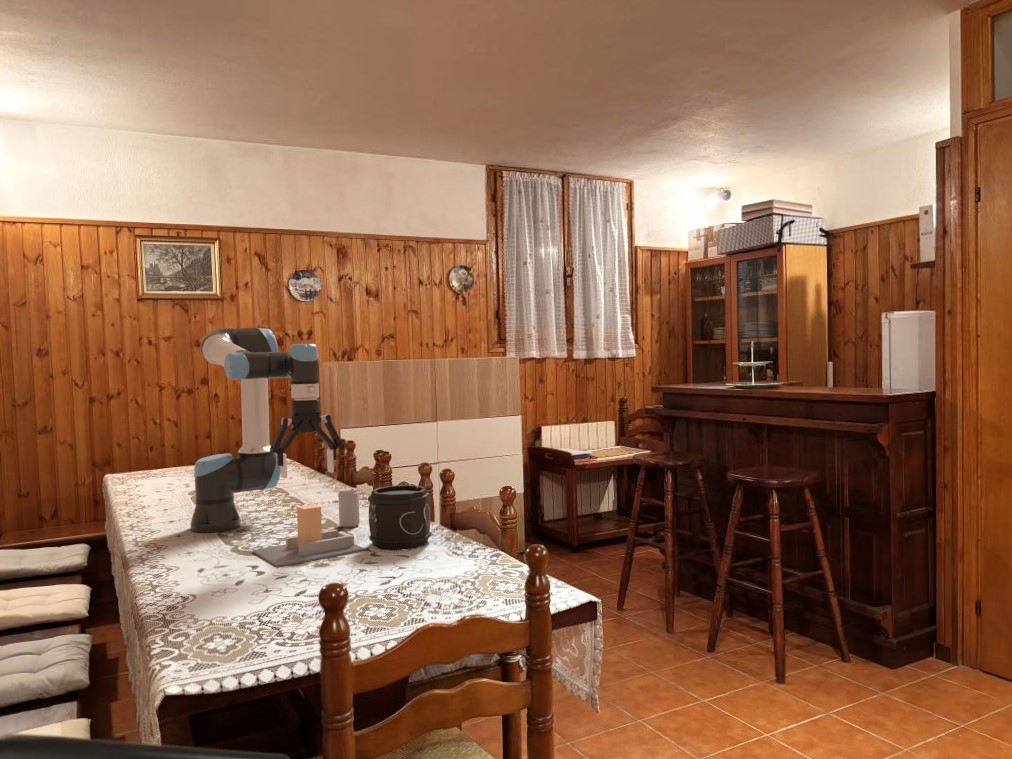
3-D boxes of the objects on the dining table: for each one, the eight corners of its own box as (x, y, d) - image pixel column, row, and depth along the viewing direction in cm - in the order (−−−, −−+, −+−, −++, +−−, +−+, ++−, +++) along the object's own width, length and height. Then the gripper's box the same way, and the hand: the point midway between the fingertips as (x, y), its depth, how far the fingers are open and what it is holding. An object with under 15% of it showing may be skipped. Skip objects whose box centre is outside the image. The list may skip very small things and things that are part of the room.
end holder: (252, 552, 213) (252, 539, 213) (335, 537, 228) (335, 525, 227) (277, 567, 197) (276, 553, 196) (365, 550, 211) (364, 537, 211)
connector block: (298, 548, 213) (296, 506, 212) (315, 545, 216) (313, 504, 215) (305, 552, 209) (303, 509, 208) (322, 549, 212) (320, 506, 211)
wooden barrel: (443, 538, 224) (442, 485, 223) (411, 553, 207) (409, 496, 207) (392, 533, 231) (391, 482, 231) (357, 547, 215) (355, 493, 214)
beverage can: (355, 528, 239) (353, 490, 239) (336, 528, 241) (334, 490, 240) (362, 524, 246) (361, 487, 245) (344, 523, 247) (343, 487, 246)
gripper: (265, 402, 201) (268, 481, 201) (352, 397, 215) (354, 471, 216) (256, 401, 207) (258, 478, 207) (341, 396, 221) (343, 468, 222)
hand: (307, 474), depth 212 cm, fingers open, 13 cm apart
